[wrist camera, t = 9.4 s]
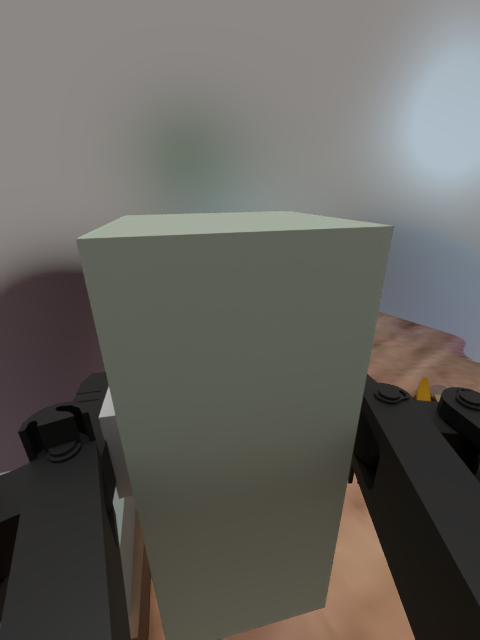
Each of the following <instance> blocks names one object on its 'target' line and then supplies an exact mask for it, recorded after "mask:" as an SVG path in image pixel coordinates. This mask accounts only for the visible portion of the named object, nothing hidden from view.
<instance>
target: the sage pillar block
mask: <svg viewBox="0 0 480 640" xmlns="http://www.w3.org/2000/svg"><path fill="white" fill-rule="evenodd" d="M393 228H394V226H390V225H382V224H375V223H369V222H362V221H355V220H348V219H341V218H334V217H326V216H319V215H312V214H305V213H298V212H291V211H277V212H276V211H274V212H238V213H202V214H165V215H130V216H123V217H121V218H119V219H117V220H115V221H113V222H111V223H109V224H106V225H104V226H102V227H100V228H98V229H96V230H94V231H92V232H89V233H87V234H85V235H83V236H81V237H79V238H77V239H76V241H77V246H78V251H79V255H80V259H81V264H82V268H83V273H84V277H85V281H86V286H87V291H88V295H89V299H90V304H91V308H92V313H93V317H94V322H95V326H96V331H97V335H98V340H99V344H100V348H101V353H102V357H103V362H104V366H105V371H106V375H107V380H108V384H109V389H110V393H111V398H112V402H113V406H114V411H115V415H116V420H117V424H118V429H119V433H120V438H121V442H122V447H123V451H124V455H125V460H126V464H127V469H128V473H129V478H130V482H131V487H132V491H133V496H134V500H135V504H136V509H137V513H138V518H139V522H140V527H141V531H142V536H143V540H144V545H145V549H146V553H147V558H148V562H149V567H150V571H151V576H152V580H153V585H154V589H155V594H156V598H157V602H158V607H159V611H160V616H161V620H162V625H163V629H164V634H165V638H166V640H218V639H222V638H225V637H228V636H232V635H235V634H238V633H241V632H245V631H248V630H251V629H255V628H258V627H261V626H265V625H268V624H271V623H274V622H278V621H281V620H284V619H288V618H291V617H294V616H297V615H301V614H304V613H307V612H311V611H314V610H317V609H321V608H324V607H325V603H326V597H327V592H328V586H329V581H330V575H331V570H332V564H333V559H334V553H335V548H336V542H337V537H338V531H339V526H340V520H341V515H342V509H343V504H344V498H345V493H346V487H347V482H348V476H349V471H350V465H351V460H352V454H353V449H354V443H355V437H356V432H357V426H358V421H359V415H360V410H361V404H362V399H363V393H364V388H365V382H366V377H367V371H368V366H369V360H370V355H371V349H372V344H373V338H374V333H375V327H376V322H377V316H378V311H379V305H380V300H381V294H382V288H383V283H384V277H385V272H386V266H387V261H388V255H389V250H390V244H391V239H392V233H393Z"/></svg>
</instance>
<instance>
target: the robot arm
mask: <svg viewBox="0 0 480 640" xmlns="http://www.w3.org/2000/svg"><path fill="white" fill-rule="evenodd" d="M18 433H19V436H20V438H21V441H22V443H23V446H24V448H25V451H26V453H27V456H28V458H29V461H30V463H28V464H27V465H24V466H22V467H20V468H18V469H16V470H13V471H10V472H8V473H5V474H3V475H0V623H1V625H0V640H131V635H130V627H129V619H128V610H127V602H126V594H125V586H124V578H123V569H122V561H121V553H120V545H119V537H118V529H117V520H116V513H115V510H114V506H113V498H114V493H115V487H116V489H117V493H118V497H119V499H121V498H126V497H131V496H133V491H132V487H131V482H130V478H129V473H128V469H127V464H126V460H125V455H124V451H123V447H122V442H121V438H120V433H119V429H118V424H117V420H116V415H115V411H114V406H113V402H112V398H111V393H110V389H109V384H108V380H107V375H106V372H102V373H95V374H91V375H90V376H89V377H88V378H87V379H86V380H84V381H83V382H82V383H81V385H80V387H79V389H78V391H77V394H76V396H75V398H74V400H73V402H65V403H59V404H55V405H52V406H50V407H46V408H44V409H42V410H40V411H38V412H37V413H35V414H33V415H32V416H31V417H29V418H28V419H27V420H26V421H25V422H24V423H23V424H22V426H21V428H20V430H19V431H18ZM354 472H355V475H356V478H357V483H358V484H359V486H360V489H361V492H362V494H363V497H364V500H365V503H366V505H367V508H368V511H369V514H370V516H371V519H372V522H373V525H374V527H375V530H376V533H377V536H378V538H379V541H380V544H381V547H382V549H383V552H384V555H385V557H386V560H387V563H388V566H389V568H390V571H391V574H392V577H393V579H394V582H395V585H396V588H397V590H398V593H399V596H400V599H401V601H402V604H403V607H404V610H405V612H406V615H407V618H408V621H409V623H410V626H411V629H412V632H413V634H414V637H415V640H480V393H479V392H476V391H473V390H471V389H467V388H466V389H465V388H459V387H451V388H447V389H444V390H443V392H442V394H441V397H440V400H439V402H436V401H422V400H414V398H413V397H412V396H411V395H410V394H409V393H408V392H406V391H405V390H403V389H401V388H399V387H397V386H394V385H390V384H385V383H377V382H376V381H375V380H373V379H372V378H371V377H370V376H369V375H368V374H367V377H366V382H365V388H364V393H363V399H362V404H361V410H360V415H359V421H358V426H357V432H356V437H355V443H354V449H353V454H352V460H351V465H350V471H349V476H348V483H352V481H353V476H354Z"/></svg>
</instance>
